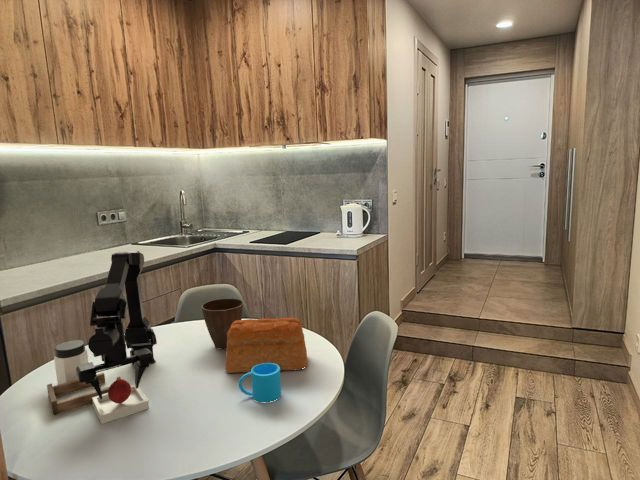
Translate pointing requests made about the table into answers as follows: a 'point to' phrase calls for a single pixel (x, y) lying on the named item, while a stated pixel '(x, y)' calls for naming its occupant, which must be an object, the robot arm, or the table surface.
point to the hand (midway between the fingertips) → (119, 393)
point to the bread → (265, 344)
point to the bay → (75, 401)
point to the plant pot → (221, 318)
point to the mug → (264, 382)
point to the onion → (119, 391)
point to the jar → (69, 360)
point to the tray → (119, 405)
